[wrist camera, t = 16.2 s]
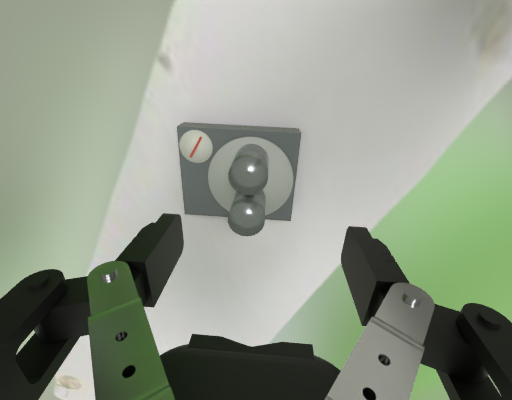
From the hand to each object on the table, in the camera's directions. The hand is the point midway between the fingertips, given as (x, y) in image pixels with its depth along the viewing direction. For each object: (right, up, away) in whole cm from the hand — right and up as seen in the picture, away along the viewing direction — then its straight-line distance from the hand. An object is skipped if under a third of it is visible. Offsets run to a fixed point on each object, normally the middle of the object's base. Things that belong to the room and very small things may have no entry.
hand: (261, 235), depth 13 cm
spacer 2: (-1, +2, +24) cm, 24 cm away
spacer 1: (-1, +7, +21) cm, 23 cm away
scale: (-3, +6, +26) cm, 27 cm away
